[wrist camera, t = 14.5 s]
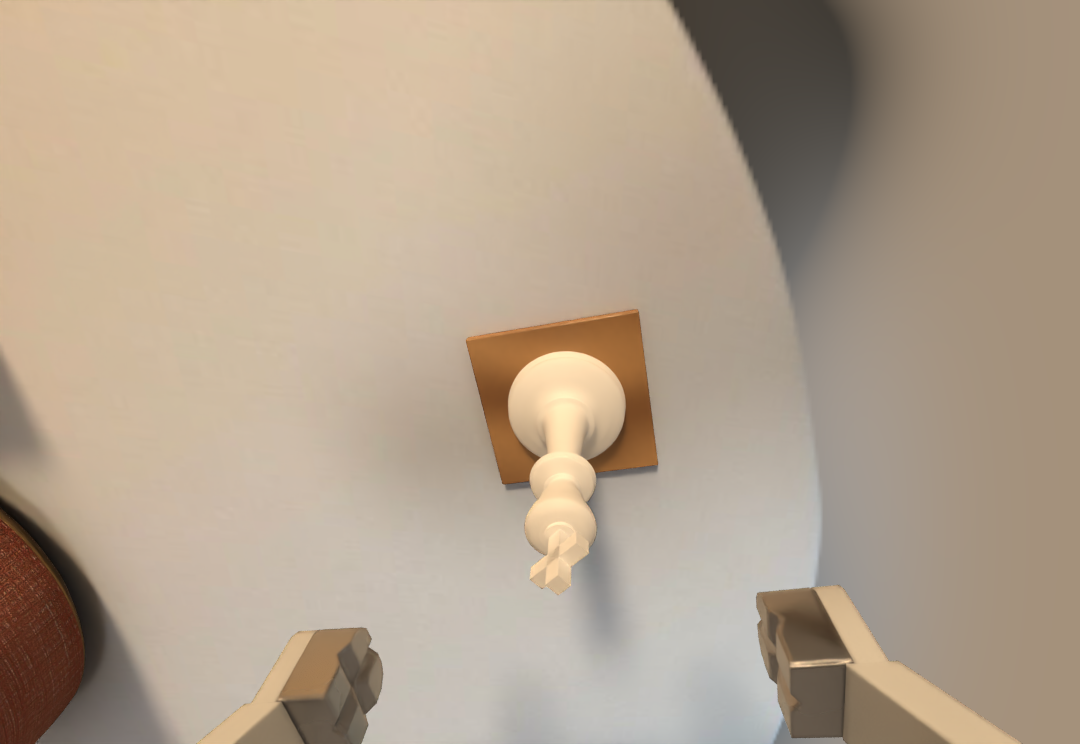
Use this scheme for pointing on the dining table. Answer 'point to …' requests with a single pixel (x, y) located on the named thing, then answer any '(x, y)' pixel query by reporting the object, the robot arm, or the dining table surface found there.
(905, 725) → the robot arm
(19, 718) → the planter
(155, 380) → the dining table surface
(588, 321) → the coaster
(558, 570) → the chess piece
